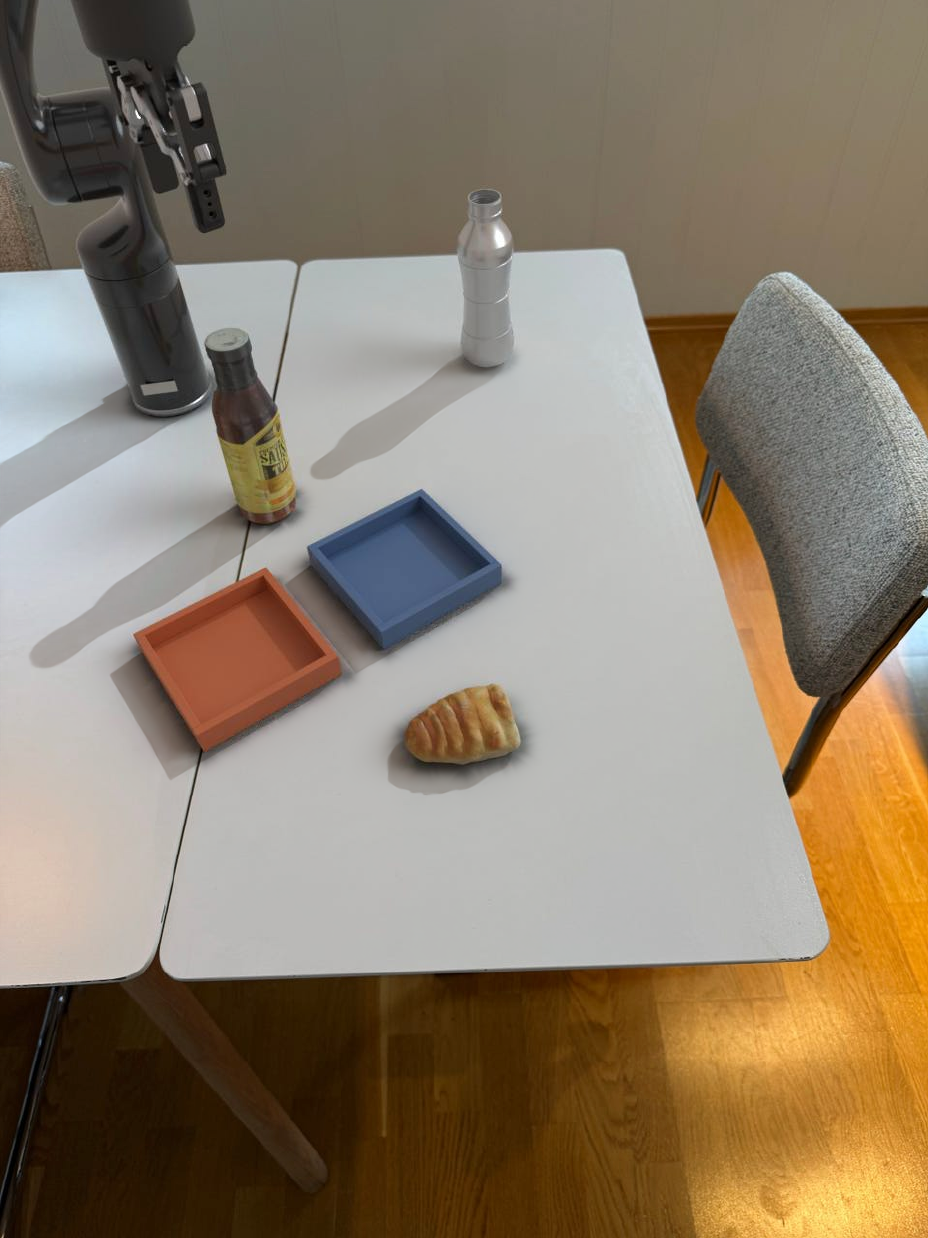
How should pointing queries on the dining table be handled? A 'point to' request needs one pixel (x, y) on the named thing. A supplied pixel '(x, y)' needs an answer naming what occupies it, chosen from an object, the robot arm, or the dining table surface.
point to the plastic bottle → (486, 281)
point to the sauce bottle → (249, 430)
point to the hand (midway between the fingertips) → (188, 208)
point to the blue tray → (404, 567)
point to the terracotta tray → (237, 657)
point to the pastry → (464, 727)
